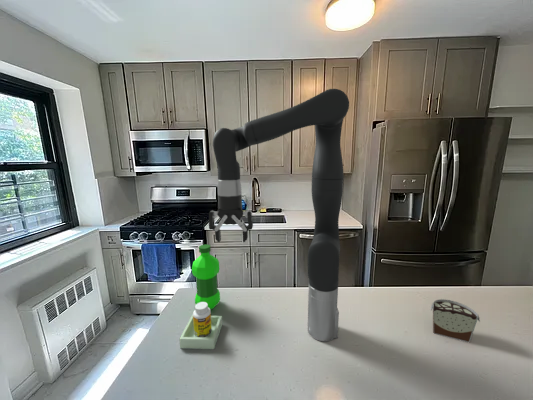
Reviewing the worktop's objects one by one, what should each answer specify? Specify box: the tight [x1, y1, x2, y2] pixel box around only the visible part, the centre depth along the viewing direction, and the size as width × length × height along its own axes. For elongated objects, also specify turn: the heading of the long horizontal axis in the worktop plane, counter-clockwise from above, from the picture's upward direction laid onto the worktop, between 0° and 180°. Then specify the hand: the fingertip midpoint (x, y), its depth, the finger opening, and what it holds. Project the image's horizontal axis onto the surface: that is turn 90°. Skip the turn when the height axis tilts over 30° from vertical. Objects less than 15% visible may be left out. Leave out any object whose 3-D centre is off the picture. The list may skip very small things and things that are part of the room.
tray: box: [179, 314, 223, 350], centre depth 75 cm, size 11×11×3 cm
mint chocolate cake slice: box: [429, 298, 481, 344], centre depth 75 cm, size 12×6×10 cm, turn 65°
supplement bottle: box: [192, 302, 212, 337], centre depth 74 cm, size 6×6×10 cm
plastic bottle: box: [191, 243, 221, 310], centre depth 88 cm, size 10×10×25 cm
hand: (231, 241), depth 76 cm, fingers open, 8 cm apart
